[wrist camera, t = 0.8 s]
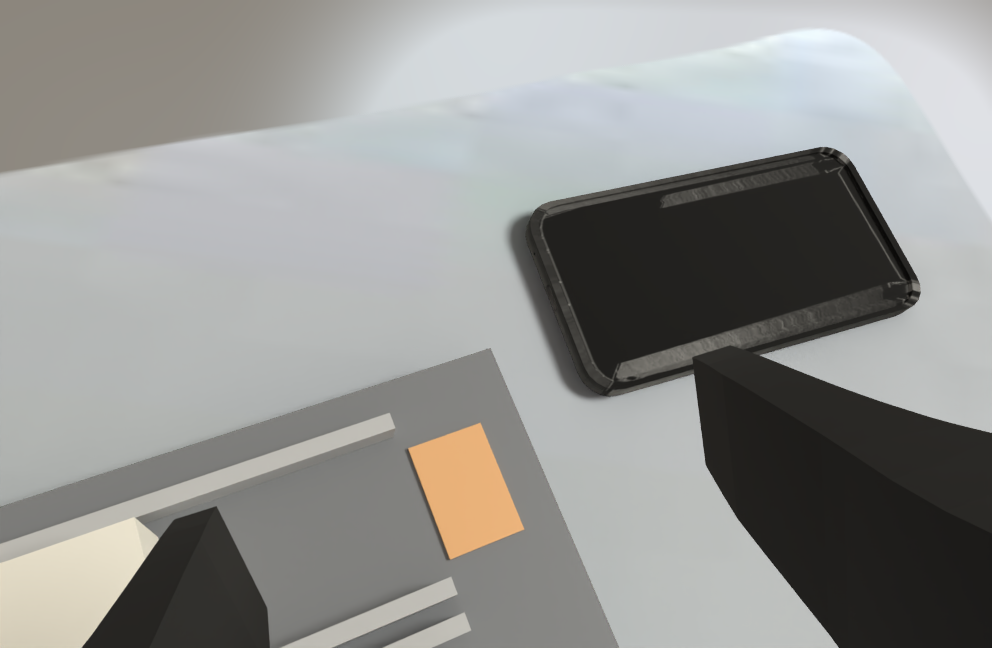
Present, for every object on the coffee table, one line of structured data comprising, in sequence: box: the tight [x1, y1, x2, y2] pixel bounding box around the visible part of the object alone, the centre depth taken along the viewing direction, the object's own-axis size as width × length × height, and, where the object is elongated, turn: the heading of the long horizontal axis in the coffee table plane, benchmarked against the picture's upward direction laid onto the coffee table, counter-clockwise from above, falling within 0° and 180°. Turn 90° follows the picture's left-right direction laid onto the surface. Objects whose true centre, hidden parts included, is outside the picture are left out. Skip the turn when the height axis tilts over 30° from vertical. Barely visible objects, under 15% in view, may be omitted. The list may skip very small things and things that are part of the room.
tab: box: [0, 517, 159, 648], centre depth 20 cm, size 4×4×3 cm
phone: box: [526, 147, 921, 396], centre depth 32 cm, size 8×1×15 cm
